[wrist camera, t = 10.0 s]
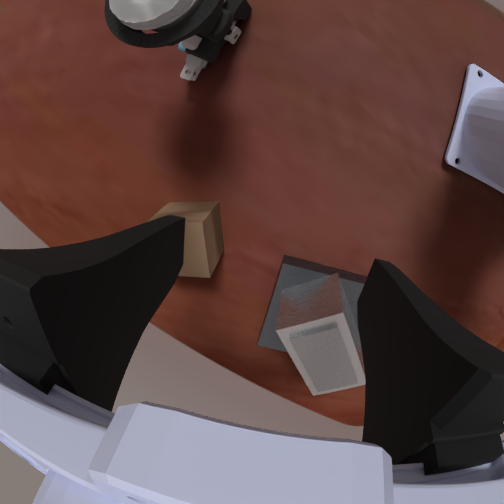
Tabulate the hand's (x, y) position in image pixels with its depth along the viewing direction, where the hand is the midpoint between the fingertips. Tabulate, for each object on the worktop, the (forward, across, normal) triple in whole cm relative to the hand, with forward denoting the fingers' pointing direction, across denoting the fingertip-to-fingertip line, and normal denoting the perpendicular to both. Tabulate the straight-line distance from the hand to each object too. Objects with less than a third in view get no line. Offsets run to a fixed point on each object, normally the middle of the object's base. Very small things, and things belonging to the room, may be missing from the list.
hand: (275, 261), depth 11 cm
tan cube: (+10, +6, +5) cm, 13 cm away
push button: (+11, +7, -9) cm, 16 cm away
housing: (+9, -5, +10) cm, 14 cm away
